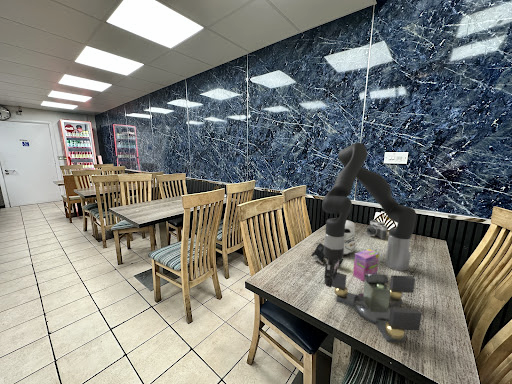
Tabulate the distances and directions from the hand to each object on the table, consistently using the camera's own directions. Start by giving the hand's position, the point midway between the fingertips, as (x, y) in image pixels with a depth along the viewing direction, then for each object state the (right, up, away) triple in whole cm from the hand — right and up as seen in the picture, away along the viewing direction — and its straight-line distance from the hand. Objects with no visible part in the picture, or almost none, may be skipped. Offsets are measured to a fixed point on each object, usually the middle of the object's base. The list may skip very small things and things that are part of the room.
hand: (331, 280), depth 83 cm
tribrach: (+13, -8, -10) cm, 18 cm away
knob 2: (+14, -8, -20) cm, 26 cm away
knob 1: (+26, -5, -3) cm, 27 cm away
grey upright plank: (+2, -4, 0) cm, 4 cm away
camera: (+56, +5, +65) cm, 86 cm away
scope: (+6, -2, +26) cm, 27 cm away
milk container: (+20, +1, +41) cm, 46 cm away
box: (+22, -4, +14) cm, 26 cm away
